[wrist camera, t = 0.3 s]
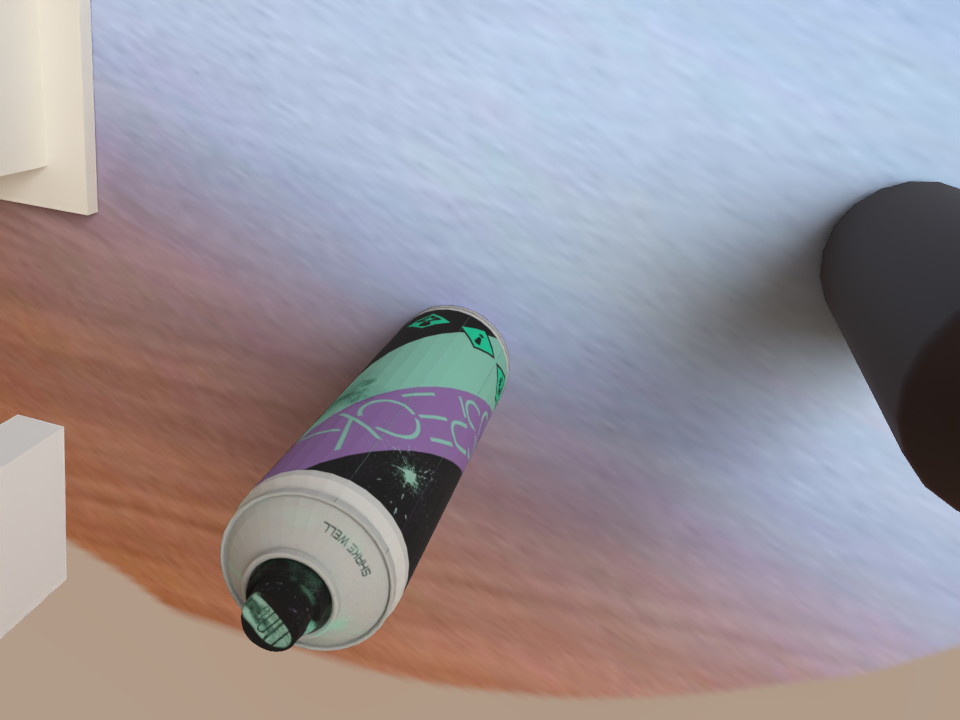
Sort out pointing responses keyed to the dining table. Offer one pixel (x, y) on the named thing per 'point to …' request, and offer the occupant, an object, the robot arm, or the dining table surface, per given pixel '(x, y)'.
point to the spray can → (364, 487)
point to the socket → (47, 105)
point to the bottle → (905, 318)
